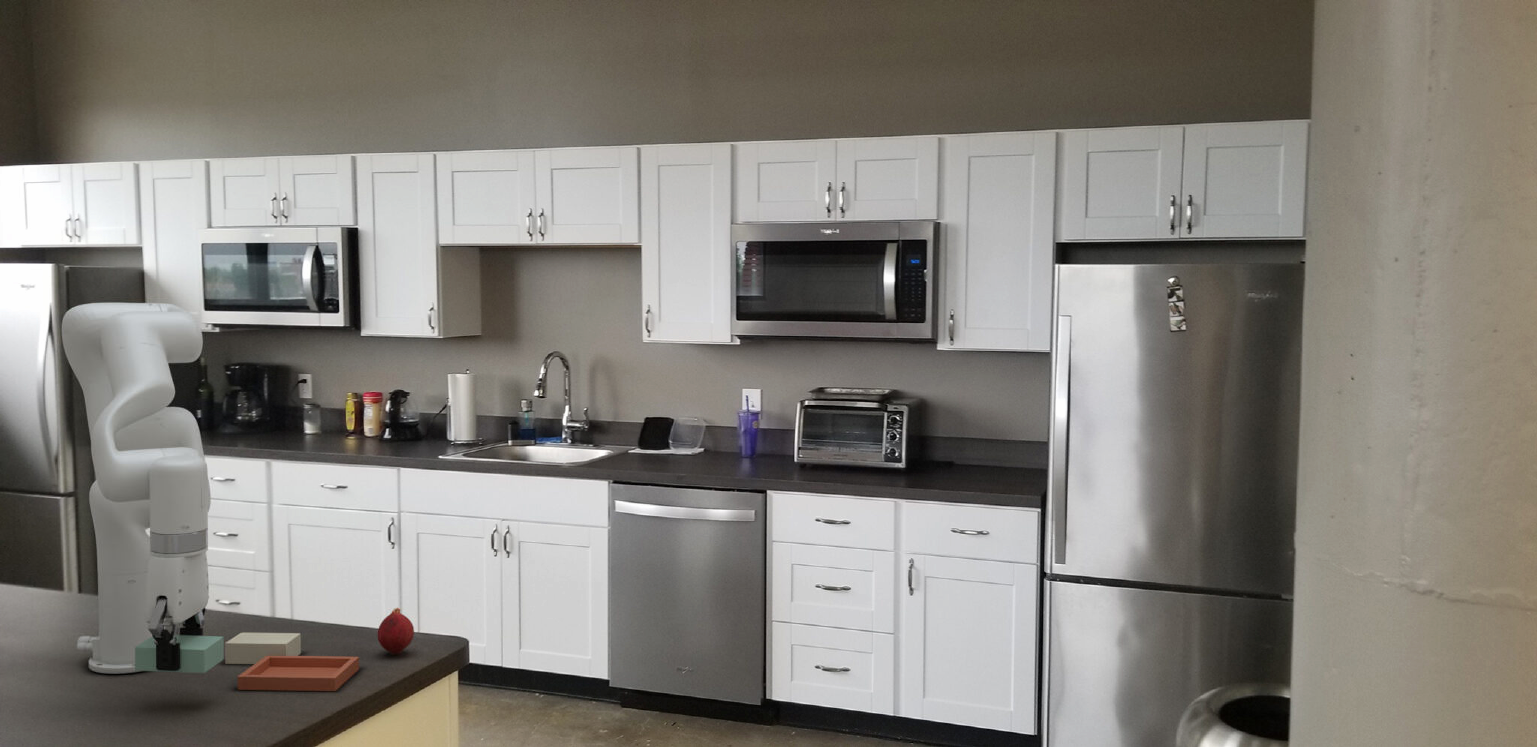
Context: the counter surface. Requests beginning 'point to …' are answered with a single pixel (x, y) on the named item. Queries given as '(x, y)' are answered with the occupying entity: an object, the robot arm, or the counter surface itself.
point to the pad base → (184, 654)
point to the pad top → (261, 647)
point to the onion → (395, 632)
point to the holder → (298, 673)
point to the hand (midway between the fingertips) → (180, 660)
